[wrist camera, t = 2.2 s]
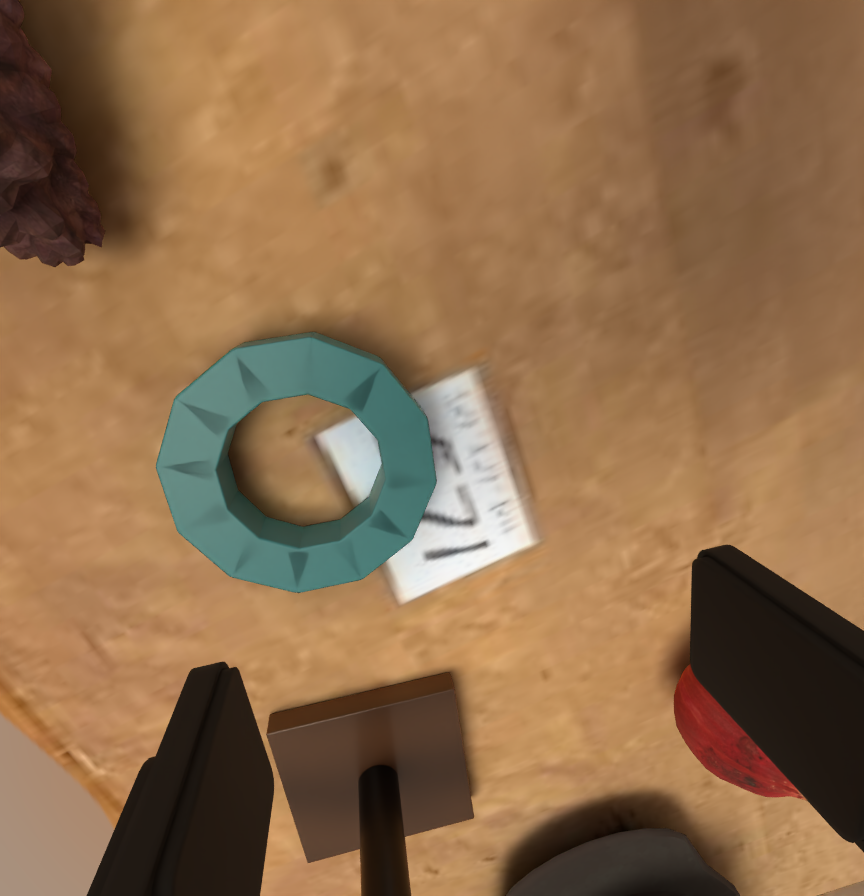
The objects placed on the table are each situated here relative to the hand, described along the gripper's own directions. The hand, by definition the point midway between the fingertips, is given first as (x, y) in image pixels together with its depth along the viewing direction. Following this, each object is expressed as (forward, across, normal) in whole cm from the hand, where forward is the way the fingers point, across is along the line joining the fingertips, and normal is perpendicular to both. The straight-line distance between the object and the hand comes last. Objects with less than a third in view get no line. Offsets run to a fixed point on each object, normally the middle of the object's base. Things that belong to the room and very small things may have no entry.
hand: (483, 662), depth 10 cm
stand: (+13, +4, +16) cm, 21 cm away
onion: (+13, -14, +15) cm, 24 cm away
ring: (+12, +4, -1) cm, 13 cm away
